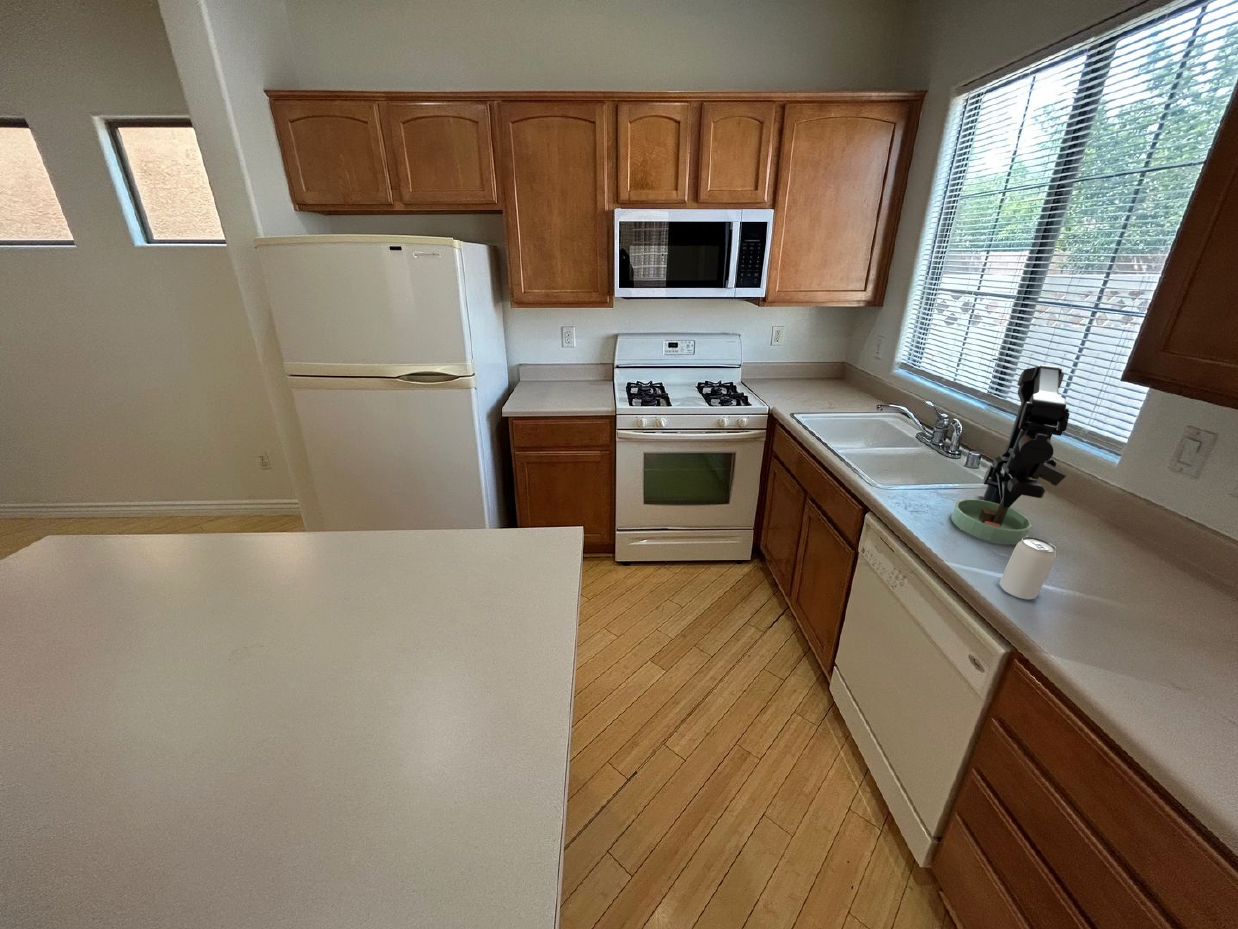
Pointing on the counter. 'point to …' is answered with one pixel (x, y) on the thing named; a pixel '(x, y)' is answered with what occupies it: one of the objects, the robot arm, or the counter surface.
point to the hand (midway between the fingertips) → (1004, 505)
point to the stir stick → (1000, 514)
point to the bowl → (1008, 533)
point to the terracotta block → (992, 524)
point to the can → (1028, 568)
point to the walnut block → (987, 515)
